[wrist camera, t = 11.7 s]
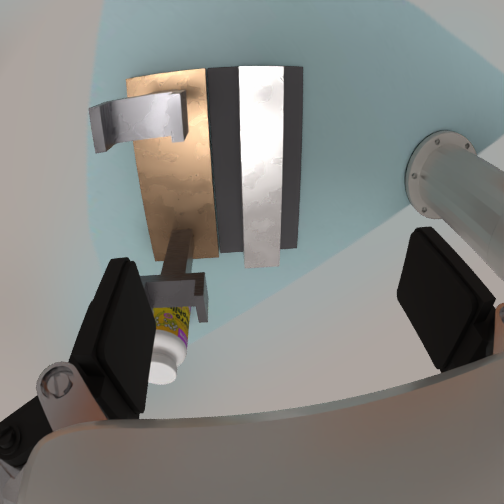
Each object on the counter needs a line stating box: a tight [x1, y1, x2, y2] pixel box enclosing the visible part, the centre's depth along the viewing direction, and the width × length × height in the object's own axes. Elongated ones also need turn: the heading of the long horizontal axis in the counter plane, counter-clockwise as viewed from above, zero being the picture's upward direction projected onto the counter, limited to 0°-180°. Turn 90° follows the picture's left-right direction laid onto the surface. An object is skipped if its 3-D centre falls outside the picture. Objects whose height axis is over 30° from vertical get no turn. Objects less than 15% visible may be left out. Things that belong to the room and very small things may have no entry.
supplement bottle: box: [148, 306, 191, 385], centre depth 39 cm, size 7×7×13 cm
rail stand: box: [89, 69, 219, 323], centre depth 28 cm, size 8×22×14 cm, turn 1°
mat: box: [208, 66, 303, 253], centre depth 34 cm, size 10×22×1 cm, turn 1°
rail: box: [238, 66, 284, 268], centre depth 33 cm, size 4×22×4 cm, turn 1°
